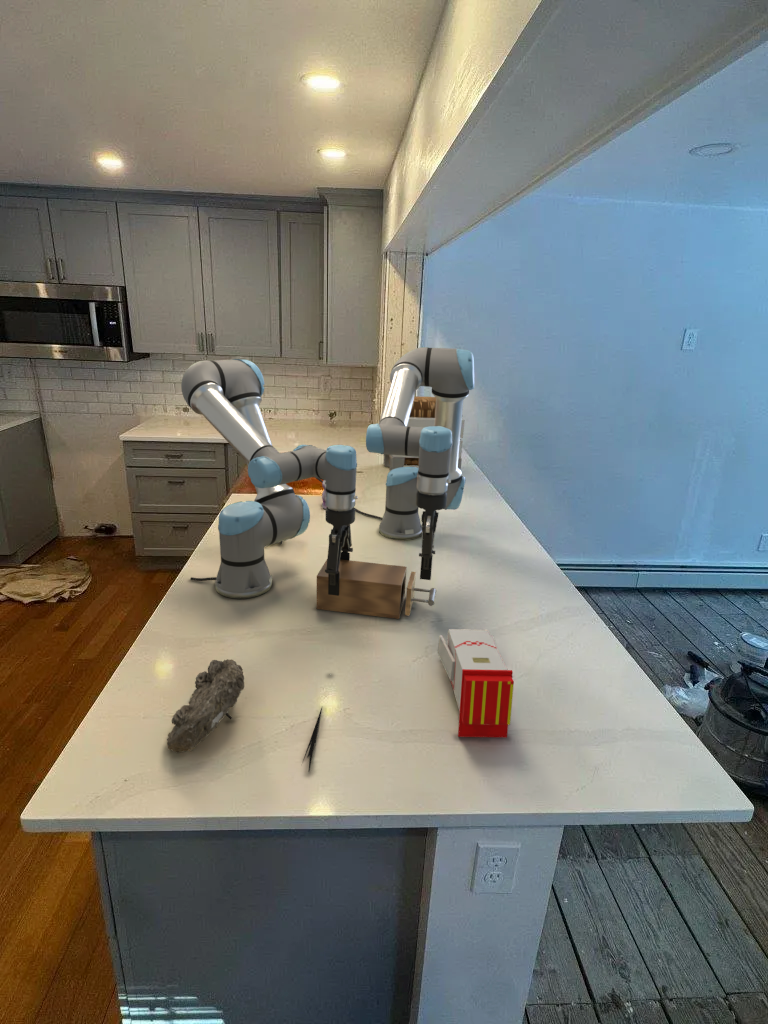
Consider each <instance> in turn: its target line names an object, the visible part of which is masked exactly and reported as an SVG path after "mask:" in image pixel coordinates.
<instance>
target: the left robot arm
mask: <svg viewBox="0 0 768 1024" xmlns="http://www.w3.org/2000/svg"><path fill="white" fill-rule="evenodd" d="M264 379H265V378H264V375H263V373H262V371H261V369H260V368H259V366H257V364H256V363H254V362H253V361H251V360H250V359H241V358H232V359H221V360H220V359H215V360H214V359H213V360H199V361H196V362H195V363H192V364H191V365H190V366H189V367H188V368H187V369H186V370H185V372H184V373H183V376H182V378H181V383H180V387H181V392H182V393H181V394H182V396H183V399H184V401H185V403H186V404H187V406H188V407H189V408H190V409H191V410H192V411H193V412H194V413H195V414H196V415H202V416H203V417H204V418H205V420H207V421H208V423H210V425H211V426H212V427H213V428H214V429H215V430H216V431H217V432H218V433H219V435H221V437H222V438H223V439H224V440H225V441H226V442H227V443H228V445H230V446H231V447H232V448H233V450H234V451H235V452H237V454H238V455H239V456H240V457H241V458H242V459H243V460H244V461H245V462H246V463H245V464H246V466H247V475H248V478H249V479H250V482H251V483H252V485H253V487H254V489H255V491H256V496H255V498H254V500H245V501H235V502H233V503H231V504H228V505H226V506H225V507H223V508H222V509H221V511H220V512H219V515H218V525H217V529H218V535H219V550H220V553H219V554H220V565H219V568H218V571H217V575H216V576H215V577H214V576H212V577H211V576H210V577H192V576H191V577H190V581H195V582H205V581H215V583H214V584H215V591H216V593H218V594H219V595H220V596H223V597H225V598H230V599H237V600H238V599H239V600H241V599H251V598H255V597H259V596H261V595H264V594H265V593H267V592H268V591H270V589H271V588H272V586H273V579H274V578H273V575H272V574H271V572H270V570H269V567H268V564H267V562H266V559H265V547H268V546H272V545H274V544H278V543H280V542H281V541H283V542H284V541H287V540H292V539H295V538H296V537H298V536H301V535H302V534H304V533H305V532H306V531H307V530H308V528H309V524H310V522H311V512H310V508H309V504H308V502H307V500H306V499H305V498H304V497H303V496H301V495H298V494H296V493H295V490H294V488H293V487H292V486H290V485H288V484H289V483H290V484H291V483H293V482H299V481H303V480H307V479H310V478H315V479H316V478H319V479H321V480H322V481H324V480H325V481H326V506H327V507H326V509H325V521H326V523H327V524H329V525H331V526H332V528H331V529H330V533H329V535H328V548H327V559H326V560H327V568H326V570H325V572H326V573H328V595H336V596H339V575H340V572H339V563H340V559H341V560H351V558H350V557H351V553H353V551H354V548H353V547H352V546H353V543H352V530H351V525H352V524H354V522H355V520H356V511H355V508H356V500H358V498H359V497H358V495H356V490H357V489H356V487H357V468H358V462H357V461H358V460H357V450H356V448H354V447H353V446H351V445H344V444H332V445H330V446H328V447H326V449H324V448H320V447H317V446H315V445H311V444H309V445H308V444H299V445H298V446H296V447H295V448H294V449H293V450H292V451H286V452H279V451H278V450H277V448H276V447H274V446H273V444H272V441H271V438H270V435H269V432H268V429H267V427H266V424H265V420H264V417H263V414H262V412H261V409H260V406H261V403H262V401H263V399H262V396H263V394H264V392H265V380H264Z"/></svg>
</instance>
